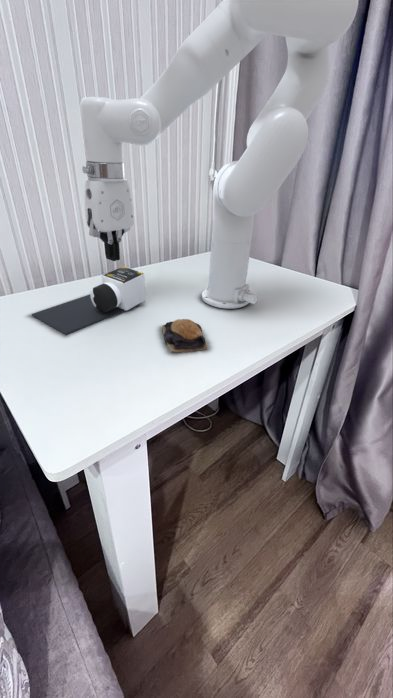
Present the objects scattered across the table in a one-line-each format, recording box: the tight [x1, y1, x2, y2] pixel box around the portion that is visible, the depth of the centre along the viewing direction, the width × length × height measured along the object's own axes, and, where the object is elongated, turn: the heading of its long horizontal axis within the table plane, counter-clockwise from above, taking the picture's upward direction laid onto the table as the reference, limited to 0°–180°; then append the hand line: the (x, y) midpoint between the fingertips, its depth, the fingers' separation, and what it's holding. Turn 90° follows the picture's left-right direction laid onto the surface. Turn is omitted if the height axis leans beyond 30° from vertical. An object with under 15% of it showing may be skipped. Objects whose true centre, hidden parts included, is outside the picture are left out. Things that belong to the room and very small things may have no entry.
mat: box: [31, 294, 139, 336], centre depth 78 cm, size 13×20×1 cm, turn 142°
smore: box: [161, 318, 208, 354], centre depth 68 cm, size 11×8×4 cm
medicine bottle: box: [89, 265, 147, 313], centre depth 78 cm, size 7×7×12 cm
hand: (113, 259), depth 78 cm, fingers closed
